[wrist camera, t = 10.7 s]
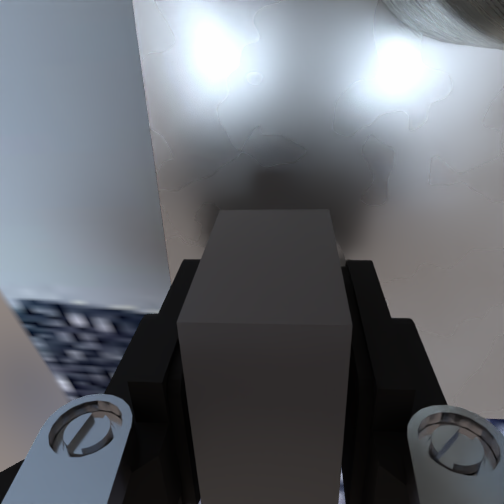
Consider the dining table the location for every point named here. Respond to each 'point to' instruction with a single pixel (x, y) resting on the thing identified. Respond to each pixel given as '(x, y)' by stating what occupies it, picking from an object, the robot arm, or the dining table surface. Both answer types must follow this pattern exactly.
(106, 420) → the robot arm
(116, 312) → the dining table surface
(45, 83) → the dining table surface
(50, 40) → the dining table surface
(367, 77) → the plate
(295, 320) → the knob
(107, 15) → the dining table surface
